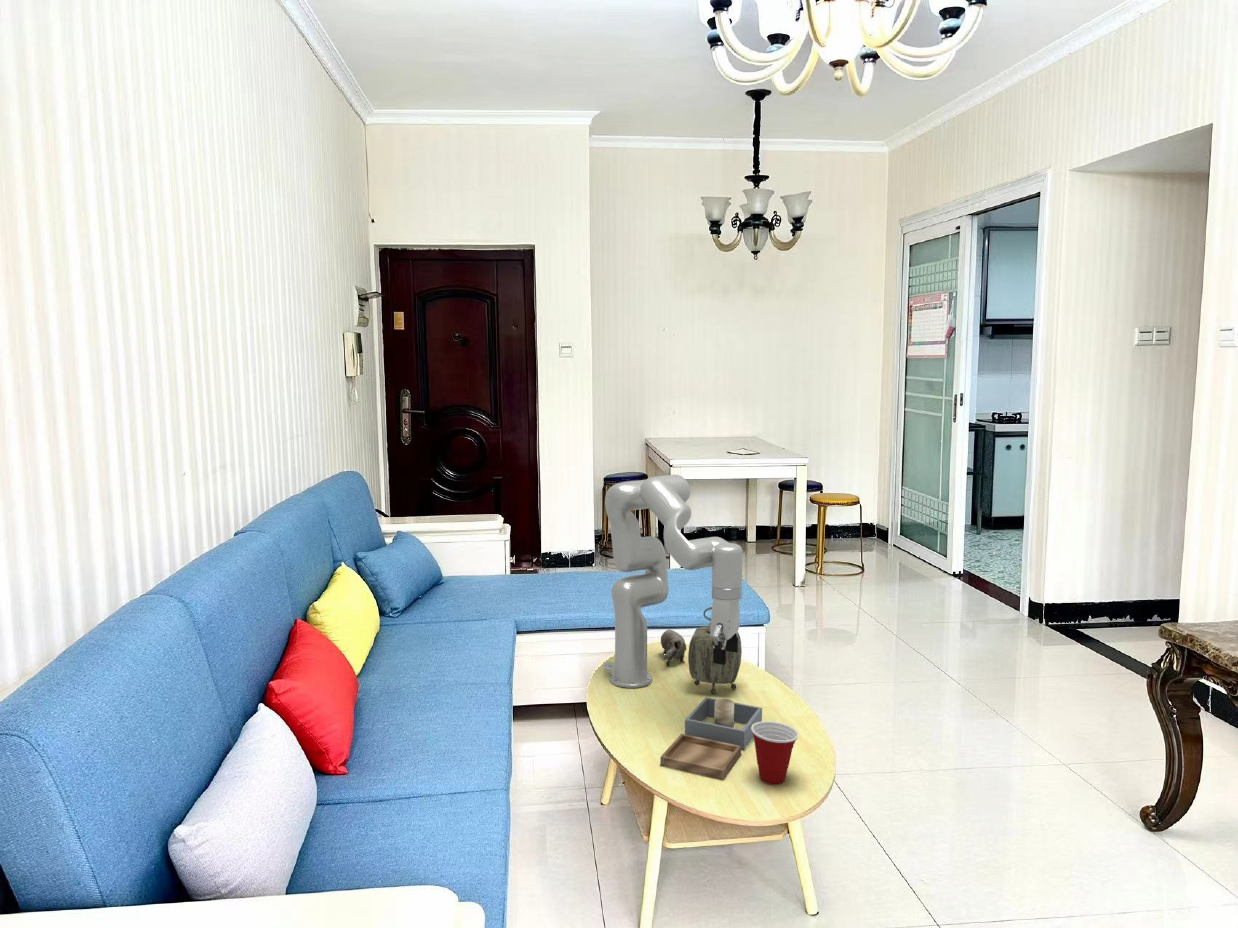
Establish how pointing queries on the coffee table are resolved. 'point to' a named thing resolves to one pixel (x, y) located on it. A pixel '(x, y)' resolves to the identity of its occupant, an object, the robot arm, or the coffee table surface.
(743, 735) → the grey square frame
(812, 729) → the coffee table surface
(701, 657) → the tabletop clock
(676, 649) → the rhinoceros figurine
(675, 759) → the tray
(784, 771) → the plastic cup
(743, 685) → the coffee table surface
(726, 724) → the beige grooved cylinder
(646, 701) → the coffee table surface
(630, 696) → the coffee table surface
